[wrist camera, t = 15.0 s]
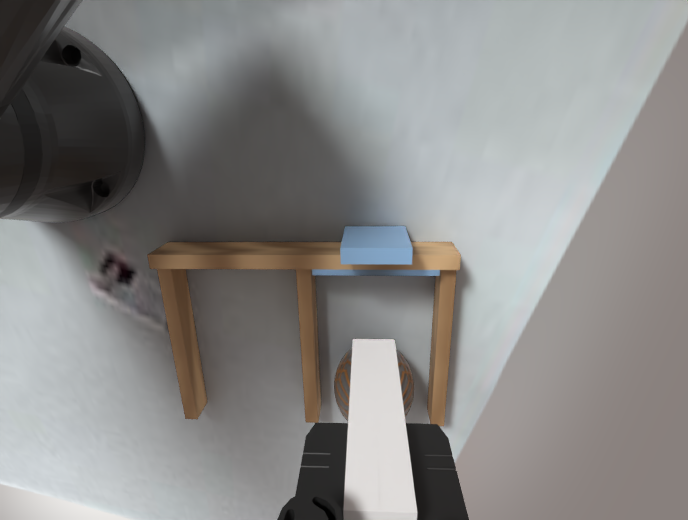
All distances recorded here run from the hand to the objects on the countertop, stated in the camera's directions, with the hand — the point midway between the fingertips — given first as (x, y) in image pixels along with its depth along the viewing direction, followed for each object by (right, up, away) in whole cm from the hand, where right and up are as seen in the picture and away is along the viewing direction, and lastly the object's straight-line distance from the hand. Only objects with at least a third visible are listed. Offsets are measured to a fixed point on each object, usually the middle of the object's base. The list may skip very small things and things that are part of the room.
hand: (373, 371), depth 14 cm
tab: (+2, +6, +19) cm, 20 cm away
